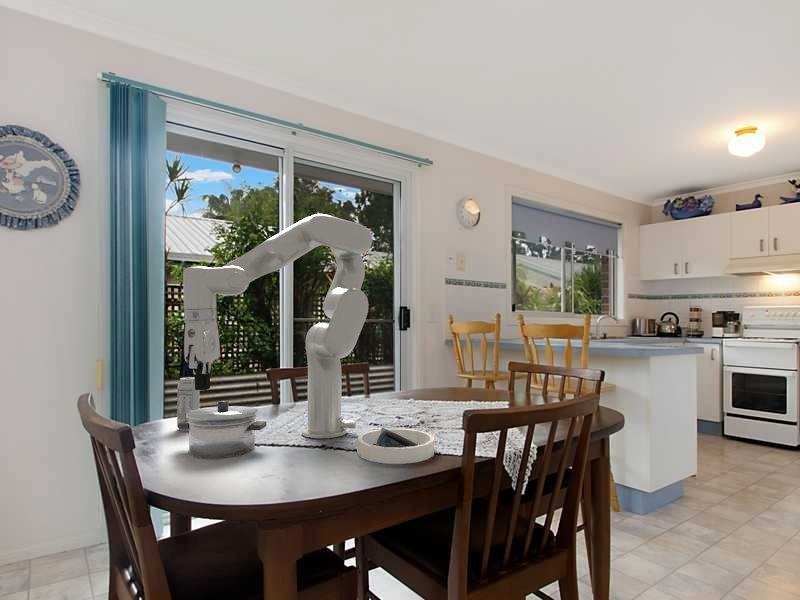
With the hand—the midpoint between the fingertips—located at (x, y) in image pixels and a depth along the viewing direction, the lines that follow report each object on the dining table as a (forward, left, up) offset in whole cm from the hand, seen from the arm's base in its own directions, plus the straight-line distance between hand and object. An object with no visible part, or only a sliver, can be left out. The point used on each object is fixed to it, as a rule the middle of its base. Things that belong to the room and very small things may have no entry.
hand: (202, 389), depth 125 cm
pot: (-4, -2, -15) cm, 16 cm away
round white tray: (-48, -4, -15) cm, 51 cm away
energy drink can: (+15, -21, -16) cm, 30 cm away
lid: (-4, -2, -7) cm, 9 cm away
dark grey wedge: (-49, -1, -16) cm, 52 cm away
